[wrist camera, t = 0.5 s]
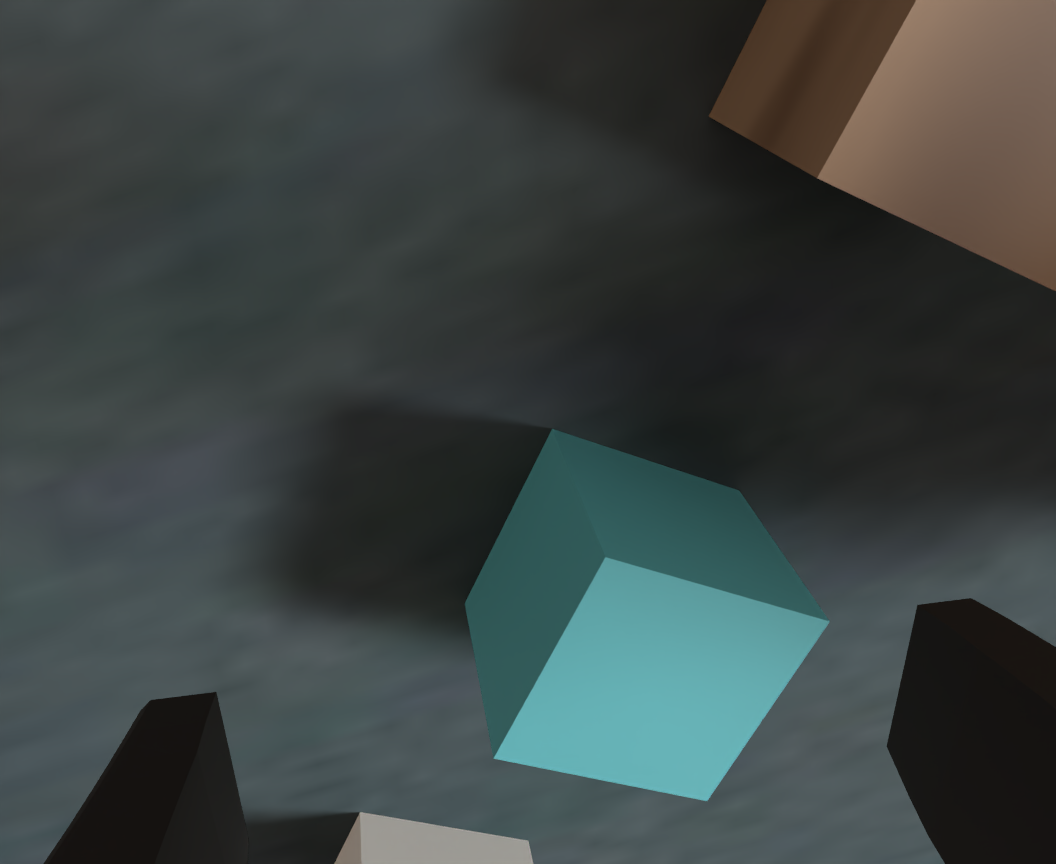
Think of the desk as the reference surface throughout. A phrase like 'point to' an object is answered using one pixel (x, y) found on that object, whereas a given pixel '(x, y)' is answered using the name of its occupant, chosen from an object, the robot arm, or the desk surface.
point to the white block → (426, 844)
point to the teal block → (633, 622)
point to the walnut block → (915, 113)
